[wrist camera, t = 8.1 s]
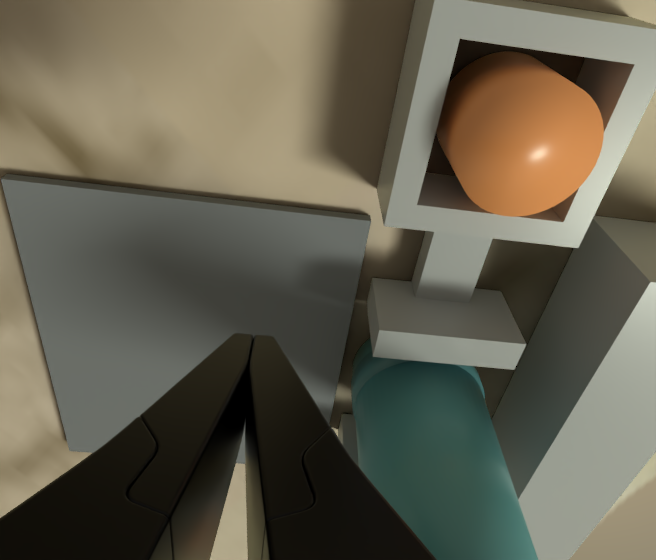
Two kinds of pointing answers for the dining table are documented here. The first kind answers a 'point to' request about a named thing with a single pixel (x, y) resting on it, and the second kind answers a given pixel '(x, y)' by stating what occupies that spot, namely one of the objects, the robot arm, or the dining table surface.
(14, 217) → the mat
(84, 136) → the dining table surface
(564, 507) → the housing
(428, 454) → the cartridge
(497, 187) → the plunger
